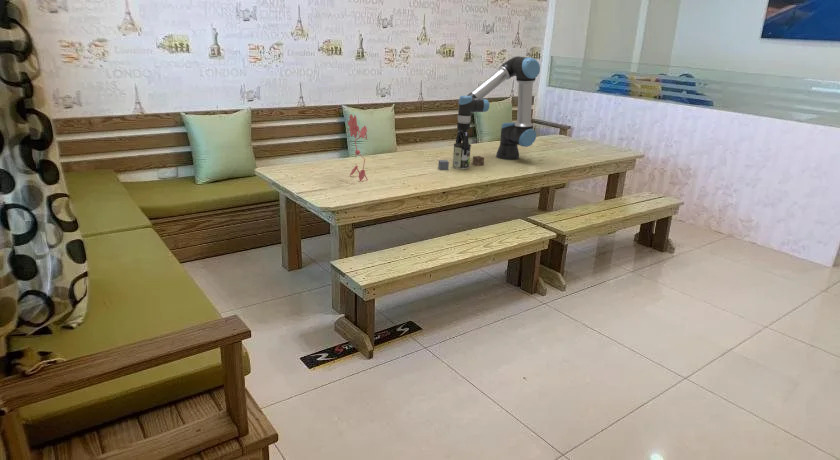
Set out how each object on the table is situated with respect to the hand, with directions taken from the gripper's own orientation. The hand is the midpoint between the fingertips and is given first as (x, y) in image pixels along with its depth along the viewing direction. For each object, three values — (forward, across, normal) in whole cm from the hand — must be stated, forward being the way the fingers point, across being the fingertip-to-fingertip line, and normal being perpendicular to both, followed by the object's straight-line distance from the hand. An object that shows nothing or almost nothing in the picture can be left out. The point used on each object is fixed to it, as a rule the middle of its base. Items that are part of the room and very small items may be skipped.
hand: (461, 157), depth 329 cm
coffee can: (+6, 0, 0) cm, 6 cm away
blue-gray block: (+6, +4, -12) cm, 14 cm away
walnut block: (+6, -6, +13) cm, 16 cm away
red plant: (+7, +24, -68) cm, 72 cm away
